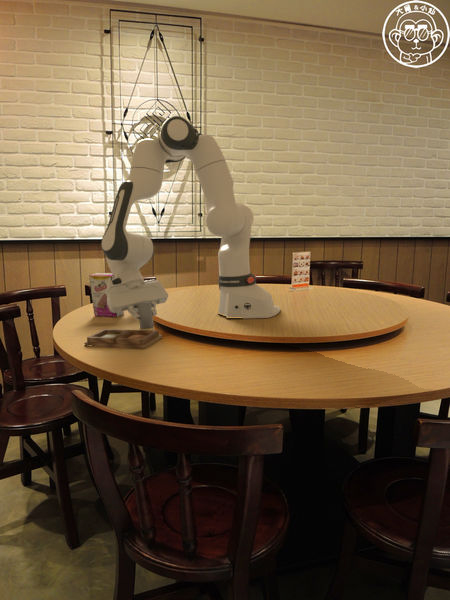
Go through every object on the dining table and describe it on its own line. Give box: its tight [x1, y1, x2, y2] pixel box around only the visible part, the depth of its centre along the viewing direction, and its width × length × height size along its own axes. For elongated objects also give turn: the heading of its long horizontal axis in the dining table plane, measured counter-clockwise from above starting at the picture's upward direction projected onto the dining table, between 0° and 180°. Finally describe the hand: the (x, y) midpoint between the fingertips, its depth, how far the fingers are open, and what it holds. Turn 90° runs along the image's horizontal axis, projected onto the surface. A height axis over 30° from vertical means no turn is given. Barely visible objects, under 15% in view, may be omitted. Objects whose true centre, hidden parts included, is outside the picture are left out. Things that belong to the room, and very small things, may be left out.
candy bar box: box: [88, 272, 125, 318], centre depth 177 cm, size 11×5×16 cm, turn 65°
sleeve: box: [137, 301, 156, 331], centre depth 151 cm, size 5×5×10 cm
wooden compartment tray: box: [84, 328, 163, 350], centre depth 142 cm, size 21×11×2 cm, turn 69°
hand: (146, 316), depth 150 cm, fingers closed on sleeve, 4 cm apart
